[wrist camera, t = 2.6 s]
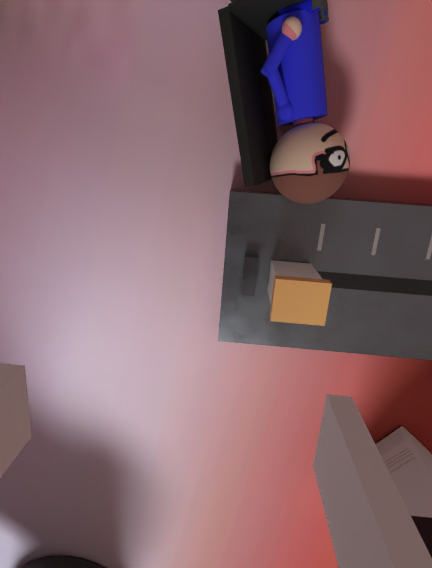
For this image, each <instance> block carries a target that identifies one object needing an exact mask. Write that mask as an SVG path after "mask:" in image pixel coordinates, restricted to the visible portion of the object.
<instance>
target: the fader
mask: <svg viewBox="0 0 432 568" xmlns="http://www.w3.org/2000/svg"><path fill="white" fill-rule="evenodd" d="M331 287H332V283H331V282H330V280H326V279H322V278H321V276H320V275H319V274H318V272H317V271H316V270H315V268H314V267H313V266H312V264H310V263H298V262H285V261H273V260H271V264H270V273H269V281H268V289H267V291H268V295H269V299H270V304H271V308H270V321H274V322H286V323H297V324H308V325H320V326H325V321H326V315H327V310H328V304H329V298H330V293H331Z"/></svg>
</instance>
